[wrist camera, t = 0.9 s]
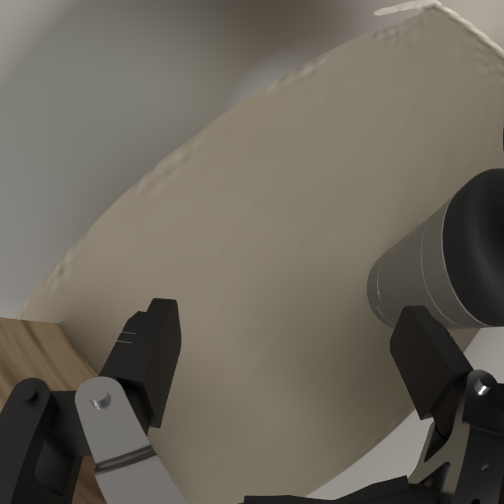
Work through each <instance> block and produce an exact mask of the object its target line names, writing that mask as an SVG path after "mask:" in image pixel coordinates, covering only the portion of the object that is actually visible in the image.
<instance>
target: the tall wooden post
mask: <svg viewBox="0 0 504 504" xmlns="http://www.w3.org/2000/svg"><path fill="white" fill-rule="evenodd" d="M94 468H96V463H95V460H94V458H93V456H84V457H83V460H82V464H81V467H80V471H79V475H78V479H77V483H76V487H75V491H74V495H73V500H72V504H107V502H106V500H105V498H104V496H103V494H102V492H101V489H100V487H99V485H98V483H97V480H96V477H95V474H94Z"/></svg>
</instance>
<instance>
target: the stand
mask: <svg viewBox="0 0 504 504" xmlns="http://www.w3.org/2000/svg"><path fill="white" fill-rule="evenodd" d="M94 377H98V375H97V374H96V373H95V371H94V370H93V369H92V368H91V367H90V366H89V364H88V363H87V362H86V361H85V359H84V358H83V357H82V356H81V354H80V353H79V352H78V351H77V349H76V348H75V347H74V345H73V344H72V343H71V341H70V340H69V339H68V337H67V336H66V335H65V333H64V332H63V331H62V329H61V328H60V326H59V325H58V324H57V323H46V322H35V321H26V320H17V319H9V318H1V317H0V413H1V411H2V409H3V407H4V405H5V403H6V401H7V399H8V397H9V396H10V394H11V392H12V390H13V388H14V387H15V386H16V385H17V384H18V383H19V382H20V381H22V380H24V379H27V378H39V379H41V380H43V381H44V382H45V383H46V384H47V386H48V387H49V389H50V390H51V391H74V390H77V389H78V388H79V387H80V385H81V384H82V383H84V382H85V381H87V380H89V379H91V378H94Z"/></svg>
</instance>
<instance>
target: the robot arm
mask: <svg viewBox="0 0 504 504" xmlns="http://www.w3.org/2000/svg"><path fill="white" fill-rule="evenodd" d="M503 149H504V130H503ZM367 291H368V298H369V302H370V305H371V307H372V309H373V311H374V313H375V314H376V315H377V317H378V318H379V319H380V320H381V321H382V322H384V323H385V324H387V325H389V326H391V327H394V328H395V329H394V332H393V334H392V337H391V340H390V351H391V354H392V357H393V359H394V361H395V363H396V365H397V367H398V369H399V371H400V374H401V376H402V378H403V380H404V382H405V385H406V387H407V389H408V392H409V394H410V396H411V398H412V401H413V403H414V405H415V408H416V410H417V412H418V415H419V417H420V420H423V419H427V418H431V417H433V419H434V422H433V423H432V424H431V426H430V428H429V431H428V435H427V438H426V441H425V444H424V447H423V450H422V453H421V456H420V458H419V461H418V464H417V466H416V468H415V470H414V472H413V473H412V474H411V475H410V476H409V478H408V479H407V475H405V476H402V477H398V478H394V479H391V480H387V481H383V482H378V483H374V484H371V485H369V486H367V487H365V488H363V489H360V490H358V491H356V492H354V493H351V494H349V495H347V496H344V497H341V498H339V499H336V500H322V499H313V498H305V497H298V496H291V495H282V496H244V503H239V504H504V384H500V383H497V381H496V380H495V378H494V377H493V376H492V375H491V374H489V373H488V372H486V371H483V370H473V368H472V367H471V365H470V363H469V362H468V360H467V359H466V357H465V356H464V354H463V353H462V351H461V350H460V348H459V347H458V345H457V344H455V341H454V339H453V338H452V337H450V334H449V332H448V331H447V329H464V328H484V327H502V326H504V169H499V168H498V169H490V170H487V171H484V172H482V173H480V174H478V175H476V176H475V177H474V178H472V179H471V180H470V181H469V182H468V183H467V184H465V185H464V186H463V187H462V188H461V189H460V190H459V191H458V192H457V193H456V194H455V195H454V196H453V197H452V198H451V199H450V200H448V201H447V202H446V203H445V204H444V205H443V206H442V207H441V208H440V209H438V210H437V211H436V212H435V213H434V214H433V215H432V216H430V217H429V218H428V219H427V220H426V221H425V222H423V223H422V224H421V225H420V226H419V227H417V228H416V229H415V230H414V231H413V232H411V233H410V234H409V235H408V236H407V237H405V238H404V239H403V240H402V241H400V242H399V243H398V244H397V245H395V246H394V247H393V248H391V249H390V250H389V251H388V252H386V253H385V254H384V255H382V256H381V257H380V258H379V259H378V260H377V261H376V263H375V264H374V266H373V267H372V269H371V272H370V275H369V278H368V284H367ZM180 349H181V329H180V322H179V313H178V305H177V301H176V300H173V299H161V298H154V299H153V300H152V302H151V304H150V306H149V308H148V310H147V312H141V311H138V312H137V313H136V314H135V315H133V316H132V317H131V318H130V319H128V321H127V322H126V324H125V326H124V328H123V330H122V333H121V334H120V336H119V337H118V339H117V342H116V343H115V345H114V347H113V349H112V351H111V353H110V355H109V357H108V359H107V361H106V363H105V365H104V367H103V369H102V371H101V373H100V375H99V376H98V377H94V378H91V379H89V380H87V381H85V382H84V383H82V384H81V385H80V387H79V388H78V389H77V390H74V391H51V390H50V389H49V387H48V386H47V384H46V383H45V382H44V381H43V380H41V379H39V378H27V379H24V380H22V381H20V382H19V383H18V384H17V385H16V386H15V387H14V388H13V390H12V392H11V394H10V396H9V397H8V399H7V401H6V403H5V405H4V407H3V409H2V411H1V413H0V504H72V500H73V495H74V491H75V487H76V483H77V479H78V475H79V471H80V467H81V464H82V460H83V457H84V456H93V458H94V460H95V463H96V468H94V474H95V477H96V480H97V483H98V485H99V487H100V489H101V492H102V494H103V496H104V498H105V500H106V502H107V504H189V503H188V501H187V500H186V499H185V497H184V496H183V494H182V493H181V491H180V490H179V488H178V487H177V486H176V484H175V483H174V481H173V480H172V478H171V476H170V475H169V473H168V472H167V470H166V469H165V467H164V465H163V464H162V462H161V460H160V459H159V457H158V455H157V454H156V452H155V450H154V449H153V447H152V446H151V444H150V442H149V440H148V438H147V433H148V429H149V426H150V427H155V428H160V426H161V422H162V418H163V414H164V410H165V406H166V402H167V398H168V395H169V391H170V387H171V383H172V379H173V376H174V372H175V368H176V365H177V361H178V357H179V354H180Z"/></svg>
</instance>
